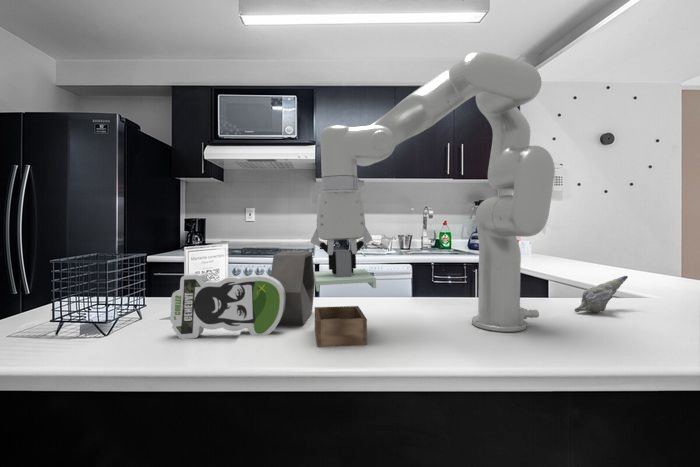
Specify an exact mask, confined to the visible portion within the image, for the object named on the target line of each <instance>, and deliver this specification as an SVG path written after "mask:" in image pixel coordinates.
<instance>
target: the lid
mask: <svg viewBox="0 0 700 467" xmlns="http://www.w3.org/2000/svg"><path fill="white" fill-rule="evenodd" d="M333 251H334V252H335V256H336V273H335V274H333V273H332V270H324V271H314V282H315V290H316V292H320V291H321V286H328V285H329V286H331V285H348V284H351V285H352V284H368V285H370V287H371V288H372V289H377V278H376V277H375V276H374V275H372V274H371V272H369V271H368V270H366V269H365V268H363V269H353V273H352V271H351V252H349V250H348V249H340V250H337V249H336V250H335V249H333Z"/></svg>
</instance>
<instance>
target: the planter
mask: <svg viewBox="0 0 700 467" xmlns="http://www.w3.org/2000/svg"><path fill="white" fill-rule="evenodd" d="M313 259H314V257H313V251H282V252H279V253H275V254H273V257H272V264H271V268H270V269H271V270H270V275H269V276H270V277H273V278H275V279H277V280H278V281H279V282H280V283H281V284H282V286H283V288H284V290H285V296H286V300H285V301H286V302H285V310H284V313H283V316H282V318H281V320H280V321H279V323H278V325H277V326H305V325H306V324H307V321H308V320H309V319H310V318H311V316H312V314H313V307H314V306H313V305H314V297H315V296H314V294H315V288H316V286H315V282H314V272H315V271H314V269H315V268H314V260H313Z"/></svg>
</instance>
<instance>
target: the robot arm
mask: <svg viewBox="0 0 700 467" xmlns="http://www.w3.org/2000/svg"><path fill="white" fill-rule="evenodd" d="M542 81H543V80H542V77H541V74H540V72H539V71H538V69H537V68H536V66H533V65H532V64H530V63H528V62H526V61H522V60H519V59H516V58H511V57H508V56H504V55H501V54H497V53H494V52H493V53H491V52H486V51H473V52H470V53H468V54H466V55H465V56H464V57H462V58H460V59H459V60H458V61H456V62H455V63H453V64H451V65H450V66H448V67H447V68H446V69H444V70H443V71H442V72H440V73H439V74H437V75H436V76H434V77H433V78H432V79H430V80H429V81H427V82H426V83H425V84H423V85H421V86H420V87H419V88H417V89H415V90H414V91H413V92H412V93H410V94H409V95H408V96H406V97H405V98H403V99H401V101H400V102H398V103H397V104H396V105H395V106H394V107H393V108H391V109H390V110H389V111H387V112H386V113H385V114H384V115H382V116H381V117H380V118H378V119H376V121H374V122H372V123H371V124H370V125H369V124H368V125H362V126H349V125H339V124H338V125H337V124H336V125H329V126H326V127H324V128H322V130H321V132H320V139H319V140H320V141H319V142H320V164H321V165H320V166H321V193H318V196H317V204H316V205H317V206H316V229H315V230H314V233H313V234H312V237H311V239H310V243H311V244H312V245H315V246H317V247H320V248H321V250H323V251H324V252H325V253H327V254H328V271H332V273H333V274H335V273H336V256H335V252H334V251H333V250H335V249H334V248H335V247H334V246H335V241H343V240H345V241H346V240H348V245H349V246H348V247H349V250H348V251H349V252H351V271H352V273H353V270H356V269H357V257H356V256H357V253H358V252H359V251H360V249H361V248H363V247H364V246H365V245H367V244H368V243H370V242H371V241H372V240H373V237H372V235H371V234H370V232H369V230H368V228H367V227H366V219H365V218H366V216H365V210H364V203H363V201H364V200H363V197H362V193H361V191H358V190H359V189H360V188H364V187H365V181H364V180H361V179H359V176H358V166H360V167H368V166H371V165H373V164H376V163H379V162H381V161H384V160H385V159H387V158H389V157H390V156H391V155H392V154H393V153H394V150H395V148H396V146H398V145H400V144H401V143H403V142H404V141H405V142H406V140H408V139H411V138H412V137H414V136H417V135H419V134H421V133H423V132H424V131H426V130H427V129H429V128H431V127H432V126H434V125H435V124H436V123H438V122H440V120H442V119H443V118H445V117H446V116H447V115H448V114H450V113H452V112H453V111H454V110H455V109H457V108H458V107H460V106H461V105H463V103H466V101H468V100H469V99H471V98H474V97H475V103H476V106H477V109H478V110H479V112H480V113H481V114H482V115H483V116H484V117H485V118H486V120H487V121H488V123H489V124H490V126H491V130H492V141H491V149H490V156H489V162H488V168H487V181H488V184H489V185H490V187H491V188H492V189H494V190H497V191H500V192H501V191H502V192H509V191H510V192H511V191H512V194H507V195H497V196H496V195H495V196H491V197H488V198H486V199H485V200H483V201H482V202H481V203H480V204H479V205H478V207H477V209H476V211H475V215H474V216H475V217H474V218H475V226H476V232H477V238H478V296H477V298H478V302H477V304H478V305H477V306H478V307H477V308H478V310H477V314H478V315H474V316H472V318H471V324H472V325H473V326H475V327H477V328H479V329H482V330H487V331H492V332H501V333H502V332H503V333H504V332H506V333H514V332H522V331H524V330H526V329H527V325H528V323H527V321H525V320H527V319H528V318H530V319H534V318H535V319H536V318H537V319H538V318H539V317H540V312H539V310H538V309H529V310H528V308H523V307H521V263H522V262H521V261H522V256H521V255H522V254H521V248H520V244H519V241H518V239H517V237H527V238H528V237H533V236H536V235H538V234H540V233H541V232H542V231H543V229H544V228H545V226H546V224H547V222H548V218H549V214H550V207H551V203H552V197H553V196H552V194H553V189H554V182H555V171H556V170H555V163H554V160H553V156H552V155H551V153H550V152H549V151H548V150H547V149H546V148H544V147H543V146H541V145H530V143H531V127H530V126H531V125H530V123H529V121H528V120H527V118H526V117H525V115H524V114H523V113H522V112H521V111H520V109H519V108H518V107H520V106H523V105H525V104H527V103H529V102H531V101H533V100H534V99H535V98H536V97H537V96H538V95H539V93H540V91H541V87H542ZM320 239H321V240H320ZM359 239H360V240H359ZM322 240H323V241H322ZM357 240H358V241H357ZM324 241H327V243H326V242H324Z"/></svg>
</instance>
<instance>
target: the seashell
mask: <svg viewBox="0 0 700 467" xmlns="http://www.w3.org/2000/svg"><path fill="white" fill-rule="evenodd" d="M627 279H628V275H623V276H620V277H618V278H615V279H613V280H609V281H606V282H603V283H599V284H598V285H597V286H592V287H590V288H587V289H586V290H585V291H583V292H582V293H583V294H582V297H581V304H580V305H579V306H578V307H576V308H574V312H575V313H580V312H585V311H587V312H590V313H594V314H599V313H601V312H604V311H605V309H607V305H608V303H609V301H610V300H612V298H613V295H615V294H616V292H617V291H618V290H619V289H620V287H622V285H623V284H624V283H625V281H626V280H627Z"/></svg>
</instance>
